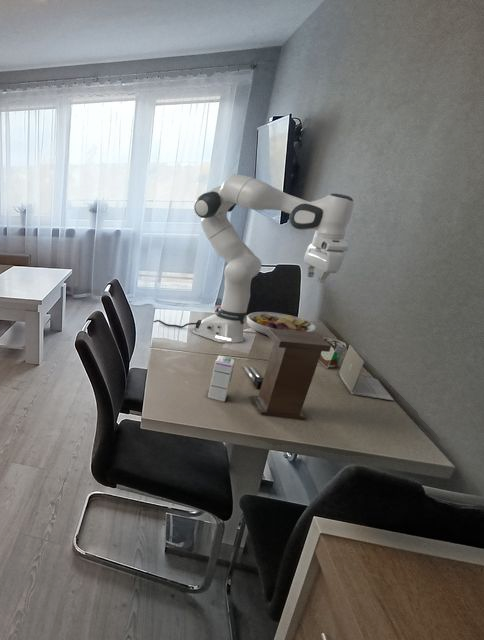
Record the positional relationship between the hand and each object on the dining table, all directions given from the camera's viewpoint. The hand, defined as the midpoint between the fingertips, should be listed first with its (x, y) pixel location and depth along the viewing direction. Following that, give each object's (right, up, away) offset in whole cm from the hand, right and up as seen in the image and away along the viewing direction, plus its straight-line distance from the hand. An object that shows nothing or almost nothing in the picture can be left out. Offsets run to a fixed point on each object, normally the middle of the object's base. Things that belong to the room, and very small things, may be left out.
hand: (315, 279), depth 155 cm
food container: (+20, -33, +19) cm, 43 cm away
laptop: (+19, -41, +1) cm, 45 cm away
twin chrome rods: (-19, -37, +6) cm, 42 cm away
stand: (-23, -46, -14) cm, 53 cm away
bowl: (+22, -17, +56) cm, 63 cm away
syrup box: (-41, -43, -8) cm, 60 cm away
